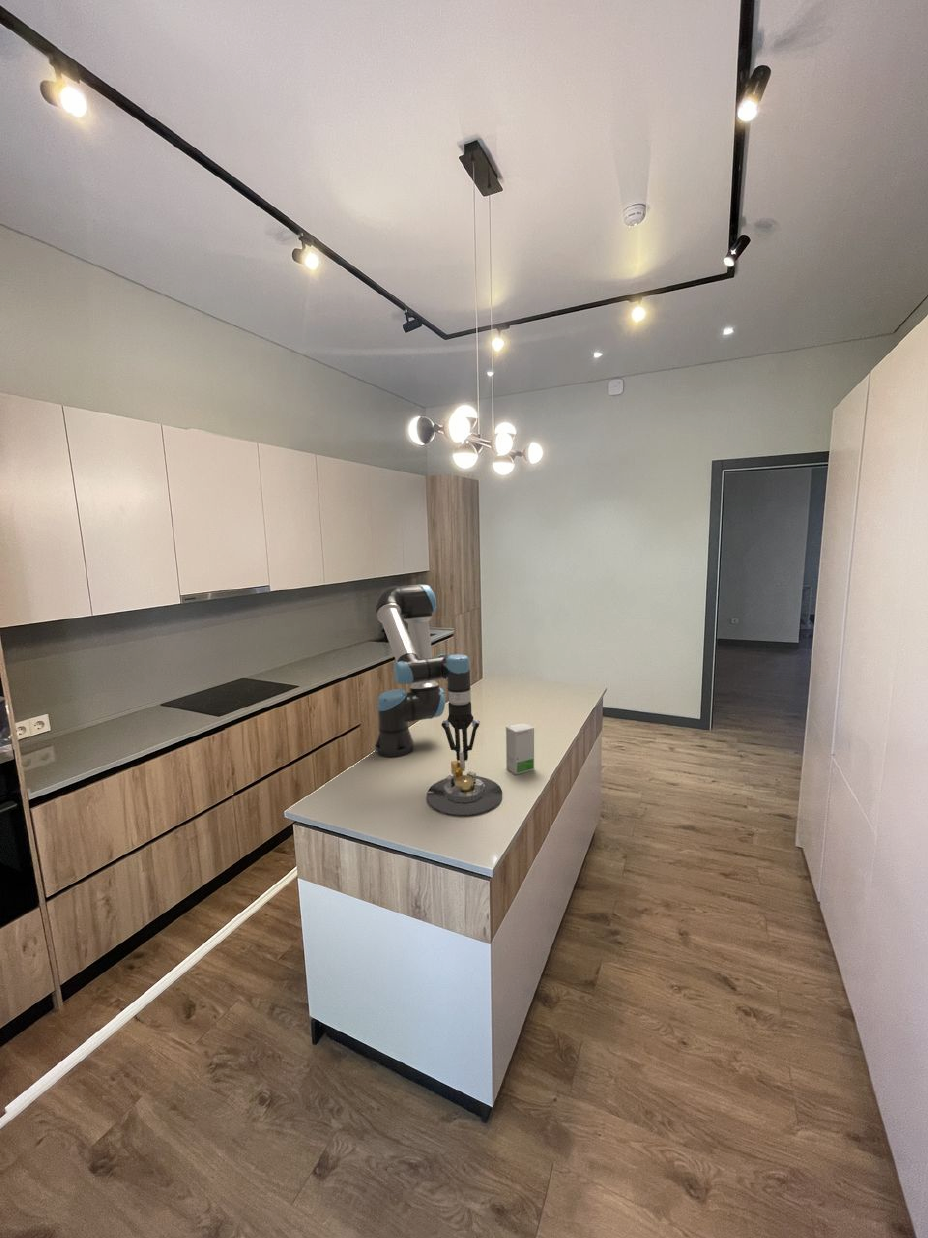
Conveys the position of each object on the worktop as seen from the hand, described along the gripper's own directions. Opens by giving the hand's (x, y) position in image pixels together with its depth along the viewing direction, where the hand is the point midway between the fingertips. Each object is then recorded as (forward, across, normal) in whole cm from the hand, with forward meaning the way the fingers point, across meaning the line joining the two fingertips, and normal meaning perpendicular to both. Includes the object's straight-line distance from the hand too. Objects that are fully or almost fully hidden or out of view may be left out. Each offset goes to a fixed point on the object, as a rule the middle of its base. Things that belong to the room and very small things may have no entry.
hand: (462, 769), depth 162 cm
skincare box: (+5, +19, +11) cm, 23 cm away
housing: (+5, +2, -9) cm, 10 cm away
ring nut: (+3, +1, -7) cm, 8 cm away
